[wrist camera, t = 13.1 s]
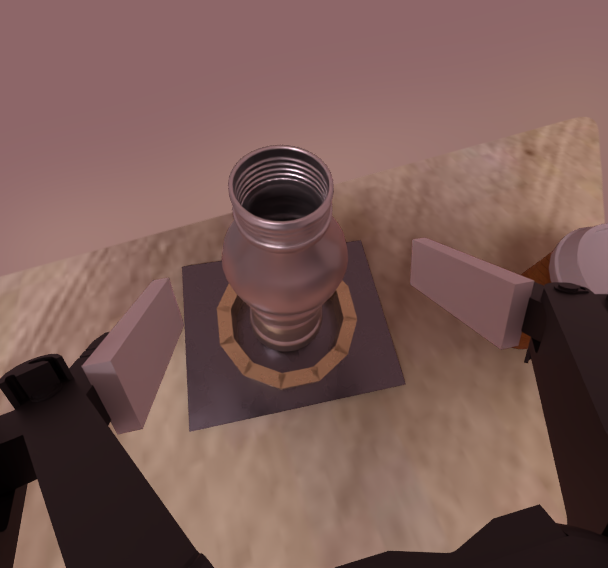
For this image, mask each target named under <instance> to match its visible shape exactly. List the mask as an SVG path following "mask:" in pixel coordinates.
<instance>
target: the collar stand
mask: <svg viewBox="0 0 608 568" xmlns="http://www.w3.org/2000/svg"><path fill="white" fill-rule="evenodd" d="M346 245H347V252H348V263H347V269H346V272H345V275H344V277H343V279H342V282H341V283H340V284H339V286H338V288H337V289H336V290H335V292H334V293H333V295H332V296H331V297H330V298H329V299H328V300H327V301H326V302H325V303H324V304H323V305H322V317H323V320H322V325H321V328H320V331H319V333H318V334H317V336H316V337H315V339H314V340H312V341H311V342H310V343H309V344H308V345H306V346H305V347H303V348H300V349H298V350H294V351H277V350H273V349H271V348H268V347H266V346H265V345H264V344H262V343H261V342H260V341H259V340H258V339H257V338H256V336H255V335H254V333H253V331H252V328H251V326H250V306H248V305H247V304H246V303H245V302H244V301H243V300H242V299H241V298H240V297H239V296H238V295H237V294H236V293H235V291H234V290H233V289H232V287H231V285H230V284H229V282H228V281H227V279H226V276H225V273H224V271H223V266H222V261H218V262H211V263H204V264H198V265H191V266H184V267H182V275H183V298H184V320H185V342H186V365H187V387H188V410H189V432H190V431H195V430H199V429H204V428H209V427H213V426H218V425H222V424H227V423H231V422H236V421H240V420H245V419H250V418H254V417H259V416H263V415H268V414H272V413H277V412H281V411H286V410H291V409H295V408H300V407H304V406H309V405H313V404H318V403H322V402H327V401H332V400H336V399H341V398H345V397H350V396H354V395H359V394H363V393H368V392H373V391H377V390H382V389H386V388H391V387H395V386H400V385H404V384H405V381H404V377H403V374H402V371H401V368H400V365H399V361H398V358H397V355H396V352H395V349H394V345H393V342H392V339H391V336H390V333H389V329H388V326H387V323H386V320H385V317H384V313H383V310H382V307H381V304H380V301H379V297H378V294H377V291H376V288H375V285H374V281H373V278H372V275H371V272H370V269H369V265H368V262H367V259H366V256H365V253H364V249H363V246H362V243H361V240H359V241H353V242H346Z"/></svg>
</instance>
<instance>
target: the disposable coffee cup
mask: <svg viewBox="0 0 608 568" xmlns="http://www.w3.org/2000/svg"><path fill="white" fill-rule="evenodd" d="M521 276H524V277H526V278H529V279H531V280H534V282H536V283H538V284H541V285H543V286H544V285H545V284H547V283H553V282H567V283H573V284H576V285H580V286H583V287H586V288H588V289H590V290H591V291H592V292H593V293H594V294H608V223H606V224H601V225H597V226H594V227H585V228H579V229H577V230H574V231H572V232H570V233H569V234H567V235H566V236H564V237H563V239H562V240H561V241H560V242H559V243H558V244H557V246H556V248H555V249H554V250H553V251H552V253H549V254H548V255H547V256H546V257H544V258H543V259H541V261H539V262H537V263H536V265H533V266H532V267H531V268H529V269H528V270H527V271H525V272H524V273H522V274H521ZM530 338H531V337H530V336H529V335H527V334H525V333H524V332H522V333H521V337H520V341H519V345H518V346H515V347H512V348H516V349H528V345H529V342H530Z"/></svg>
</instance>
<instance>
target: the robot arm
mask: <svg viewBox="0 0 608 568" xmlns="http://www.w3.org/2000/svg"><path fill="white" fill-rule="evenodd" d="M410 285H412V286H413V287H415V288H416V289H417V290H419V291H420V292H422V293H423V294H424V295H426V296H427V297H429V298H430V299H431V300H433V301H434V302H435V303H437V304H438V305H440V306H441V307H442V308H444V309H445V310H447V311H448V312H449V313H451V314H452V315H454V316H455V317H456V318H458V319H459V320H461V321H462V322H463V323H465V324H466V325H467V326H469V327H470V328H472V329H473V330H474V331H476V332H477V333H479V334H480V335H481V336H483V337H484V338H486V339H487V340H488V341H490V342H491V343H493V344H494V345H495V346H497V347H498V348H499V349H506V348H510V347H515V346H518V345H519V341H520V337H521V333H522V332H524V333H525V334H527V335H529V336H530V337H531V338H530V342H529V345H528V349H527V353H526V357H525V361H524V362H525V363H528V361H529V360H530V359H531V360H532V364H533V369H534V373H535V377H536V382H537V386H538V391H539V395H540V399H541V404H542V408H543V413H544V417H545V421H546V426H547V430H548V435H549V439H550V443H551V448H552V452H553V457H554V461H555V465H556V470H557V474H558V479H559V483H560V487H561V492H562V496H563V501H564V505H565V509H566V514H567V525H565V524H559V523H555V522H554V520H553V519H552V518H551V517H550V516H549V515H548V513H547V512H546V511H545V510H544V509H543V508H542V507H541V505H540V504H539V505H536V506H533V507H530V508H526V509H523V510H520V511H517V512H513V513H510V514H507V515H504V516H500V517H497V518H494V519H492V520H491V521H490V522H489V523H488V524H486V525H485V526H484V527H483V528H482V529H481V530H479V531H478V532H477V533H476V534H475V535H474V536H472V537H471V538H470V539H469V540H468V541H467V542H465V543H464V544H463V545H462V546H461V547H460V548H458V549H457V550H456V551H454V552H451V553H430V552H405V551H387V552H384V553H380V554H377V555H374V556H371V557H367V558H364V559H361V560H358V561H354V562H351V563H348V564H345V565H341V566H338V567H335V568H608V294H594V293H593V292H592V291H591V290H590V289H588V288H586V287H583V286H580V285H576V284H573V283H567V282H553V283H547V284H545V285H544V286H543V285H541V284H538V283H536V282H534V280H531V279H529V278H526V277H524V276H521V275H519V274H516V273H514V272H511V271H509V270H506V269H503V268H501V267H498V266H496V265H493V264H491V263H488V262H486V261H483V260H481V259H478V258H476V257H473V256H471V255H468V254H466V253H463V252H461V251H458V250H455V249H453V248H450V247H448V246H445V245H443V244H440V243H438V242H435V241H433V240H430V239H428V238H419V239H413V241H412V259H411V277H410ZM183 326H184V323H183V320H182V317H181V314H180V311H179V307H178V304H177V301H176V298H175V295H174V292H173V289H172V286H171V282H170V279H169V278H164V279H157V280H153V281H152V282H151V283H150V284H149V286H148V287H147V288H146V289H145V290H144V292H143V293H142V294H141V295H140V296H139V298H138V299H137V300H136V301H135V302H134V304H133V305H132V306H131V307H130V308H129V310H128V311H127V312H126V313H125V315H124V316H123V317H122V318H121V319H120V321H119V322H118V323H117V324H116V325H115V327H114V328H113V329H112V330H111V331H110V332H107V333H104V334H103V335H101V336H100V337H99V338H97V339H96V340H94V341H93V342H92V343H91V344H90V345H89V347H88V348H87V349H86V351H84V352H83V353H82V355H81V356H80V358H79V359H77V360H76V361H75V362H74V364H73V365H72V366H71V367H70V368H68V366H67V365H66V363H65V361H64V359H63V357H62V356H61V355H59V354H48V355H44V356H40V357H37V358H34V359H31V360H29V361H26V362H24V363H22V364H20V365H18V366H16V367H15V368H13V369H12V370H10V371H9V372H7V373H6V374H5V375H4V376H3V377H2V378H1V379H0V389H1V390H2V391H3V393H4V394H5V396H6V397H7V398H8V400H9V401H10V403H11V404H12V406H13V407H14V408H15V410H14V411H11V412H9V413H6V414H3V415H1V416H0V568H13V564H14V558H15V552H16V547H17V541H18V535H19V529H20V524H21V518H22V512H23V507H24V501H25V495H26V490H27V484H28V483H30V482H32V481H34V480H36V479H38V482H39V485H40V489H41V492H42V495H43V498H44V501H45V504H46V507H47V510H48V513H49V516H50V520H51V523H52V526H53V529H54V532H55V535H56V538H57V541H58V544H59V547H60V550H61V554H62V557H63V560H64V563H65V566H66V568H214V567H213V566H212V564H211V563H210V562H209V560H208V559H207V558H206V557H205V556H204V555H203V554H202V553H201V554H200V553H199V552H198V551H197V550H196V549H195V547H194V546H193V545H192V543H191V542H190V540H189V539H188V538H187V536H186V535H185V533H184V532H183V531H182V529H181V528H180V526H179V525H178V524H177V522H176V521H175V519H174V518H173V517H172V515H171V514H170V512H169V511H168V510H167V508H166V507H165V505H164V504H163V503H162V501H161V500H160V498H159V497H158V495H157V494H156V493H155V491H154V490H153V488H152V487H151V486H150V484H149V483H148V481H147V480H146V479H145V477H144V476H143V474H142V473H141V472H140V470H139V469H138V467H137V466H136V465H135V463H134V462H133V460H132V459H131V458H130V456H129V455H128V453H127V452H126V451H125V449H124V448H123V446H122V445H121V444H120V442H119V441H118V439H117V438H116V437H115V435H114V434H113V432H112V431H111V429H110V428H109V427H108V425H109V423H110V421H111V423H112V425H113V427H114V429H115V431H116V433H117V434H122V433H126V432H131V431H135V430H140V429H143V427H144V424H145V422H146V419H147V416H148V414H149V411H150V409H151V406H152V404H153V401H154V399H155V396H156V394H157V391H158V389H159V386H160V384H161V381H162V379H163V376H164V374H165V371H166V369H167V366H168V364H169V361H170V359H171V356H172V354H173V351H174V349H175V346H176V344H177V341H178V339H179V336H180V334H181V331H182V329H183Z"/></svg>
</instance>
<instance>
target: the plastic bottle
mask: <svg viewBox="0 0 608 568" xmlns="http://www.w3.org/2000/svg"><path fill="white" fill-rule="evenodd" d="M228 186H229V188H228V189H229V197H230V200H231V203H232V205H233V208H232V210H233V217H234V221H233V222H232V224H231V225H230V227H229V228H228V231H227V233H226V236H225V239H224V245H223V252H222V266H223V271H224V273H225V276H226V279H227V281H228V282H229V284H230V285H231V287H232V289H233V290H234V291H235V293H236V294H237V295H238V296H239V297H240V298H241V299H242V300H243V301H244V302H245V303H246V304H247V305H248V306H250V326H251V328H252V331H253V333H254V335H255V336H256V338H257V339H258V340H259V341H260V342H261V343H262V344H264V345H265V346H266V347H268V348H271V349H273V350H277V351H294V350H298V349H300V348H303V347H305V346H306V345H308V344H309V343H310V342H311V341H312V340H314V339H315V337H316V336H317V334H318V333H319V331H320V328H321V325H322V320H323V317H322V305H323V304H324V303H325V302H326V301H327V300H328V299H329V298H330V297H331V296H332V295H333V293H334V292H335V290H336V289H337V288H338V286H339V284H340V283H341V282H342V279H343V277H344V275H345V272H346V269H347V263H348V252H347V245H346V241H345V237H344V233H343V231H342V229H341V227H340V226H339V224H338V222H337V221H336V220H335V219H334V218H333V216H332V197H333V192H334V190H333V179H332V175H331V172H330V170H329V169H328V167H327V165H326V164H325V163H324V162H323V161H322V160H321V159H320V158H319V157H317V156H316V155H315V154H313V153H311V152H309V151H307V150H304V149H302V148H299V147H295V146H289V145H273V146H267V147H262V148H259V149H257V150H254V151H252V152H250V153H248V154H247V155H245V156H244V157H243V158H241V159H240V160H239V161H238V162H237V163H236V165H235V166H234V168H233V169H232V171H231V174H230V176H229V182H228Z"/></svg>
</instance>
